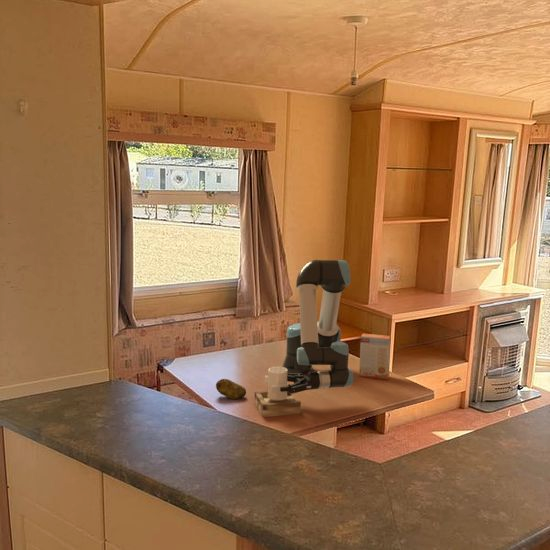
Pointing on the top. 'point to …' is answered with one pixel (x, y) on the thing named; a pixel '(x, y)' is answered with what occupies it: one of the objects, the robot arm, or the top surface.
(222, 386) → the potato
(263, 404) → the display stand
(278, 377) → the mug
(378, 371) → the cracker box
